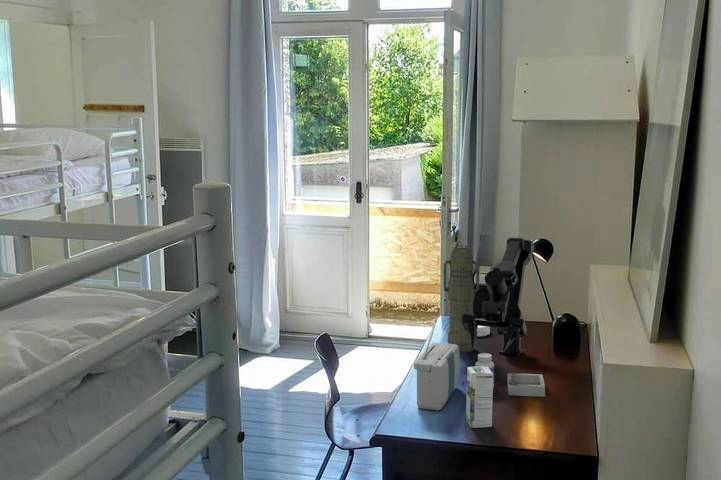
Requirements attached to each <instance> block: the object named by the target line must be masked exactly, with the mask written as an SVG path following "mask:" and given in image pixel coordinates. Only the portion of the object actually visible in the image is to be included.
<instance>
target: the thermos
mask: <svg viewBox="0 0 721 480" xmlns="http://www.w3.org/2000/svg"><path fill="white" fill-rule="evenodd" d="M448 264H449V270H450V273H449V278H448V282H447V265H448ZM474 265H475V267H476V269H475V270H476V271H475V272H476V276H475V277H476V278H475V279H476V282H475V280H474V274H473V271H474ZM480 267H481V265H480V264H479V262H478V261H477V260H474V256H473V252H472V248H471V247H469V246H468V245H455V246H453V247H452V248H451V251H450V254H449V259H447V260H445V262H444V263H443V291H444V292H446V293H447V298H448V303H449V304H448V305H449V306H448V307H449V308H448V309H449V318H448V319H449V320H448V321H449V323H448V325H449V327H448V329H447V344H456V345H458V347H459V354H464V353H465V354H466V353H471V352H472V351H474V350H475V347H474V348H472V343H471V335H470V333H469V332H468V331H467V330H465V329H464V327H463V325H462V322H461V318H462V315H463V314H465V313H466V314H474V300H475V294H476V293H477V292H478V291H479V290H480ZM475 285H476V287H475Z"/></svg>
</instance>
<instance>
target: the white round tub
mask: <svg viewBox="0 0 721 480" xmlns="http://www.w3.org/2000/svg"><path fill="white" fill-rule="evenodd" d="M490 333H491V327H487V326H478V328H477V337H485V336H489V335H490ZM477 337H476V338H477Z"/></svg>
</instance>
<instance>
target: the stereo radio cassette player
mask: <svg viewBox="0 0 721 480" xmlns="http://www.w3.org/2000/svg"><path fill="white" fill-rule="evenodd" d="M437 323H438V321H437V320H435V324H434V326H433V328H432V331H431V332H430V333H431V334H430V337H429V339H428V342H427V345H426V348H425V351H423V353H422V354H420V356H419V357H418V358H417V359H416V360H415V362H414V363H413V368H414V369H415V371H416V405H417V408H418V409H426V410H431V411H435V412H439V411H440V410H441V409H442V408H443V407H444V406H445V404H446V403H447V401H448V399H449V398H450V397H451V395H452V394H453V393H454V391H455V389H457V387H458V385H459V381H460V368H461V367H460V362H461V361H460V353H459V347H458V345H456V344H448V342H432V343H431V340H432V338H433V335H434V332H435V331H434V330H435V329H436V325H437Z"/></svg>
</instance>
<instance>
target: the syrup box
mask: <svg viewBox="0 0 721 480" xmlns="http://www.w3.org/2000/svg"><path fill="white" fill-rule="evenodd" d="M466 374H467V375H466V376H467V378H466V402H465V403H466V404H465V405H466V407H465V409H466V410H465V415H466V416H465V418H466V422H467V424H468V425H469V427H470V429H476V428H477V429H478V428H491V427H493V402H494V401H493V399H494V398H493V396H494V395H493V393H494V387H493V373H492V372H491V370H490V369H489V367H484V366H467V371H466Z"/></svg>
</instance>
